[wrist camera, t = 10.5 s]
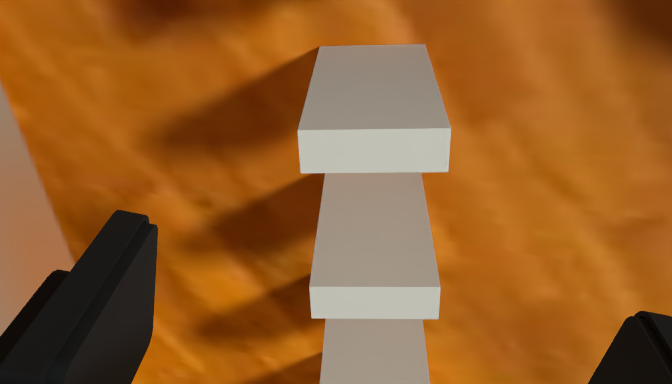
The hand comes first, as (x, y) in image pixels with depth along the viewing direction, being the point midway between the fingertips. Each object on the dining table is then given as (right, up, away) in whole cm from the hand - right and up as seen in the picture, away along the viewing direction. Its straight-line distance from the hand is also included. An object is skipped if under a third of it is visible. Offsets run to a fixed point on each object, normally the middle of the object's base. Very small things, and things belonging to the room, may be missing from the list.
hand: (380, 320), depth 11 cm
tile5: (+1, +9, +17) cm, 19 cm away
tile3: (+1, -2, +23) cm, 23 cm away
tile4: (+1, +3, +20) cm, 20 cm away
